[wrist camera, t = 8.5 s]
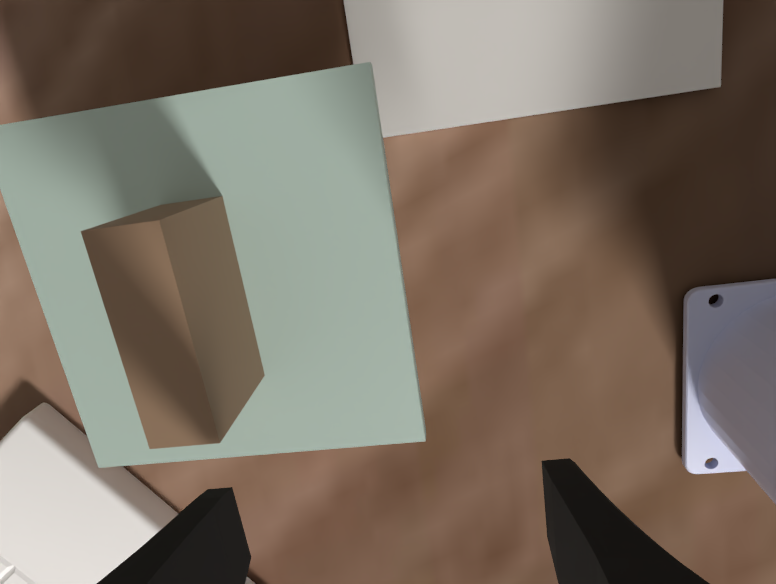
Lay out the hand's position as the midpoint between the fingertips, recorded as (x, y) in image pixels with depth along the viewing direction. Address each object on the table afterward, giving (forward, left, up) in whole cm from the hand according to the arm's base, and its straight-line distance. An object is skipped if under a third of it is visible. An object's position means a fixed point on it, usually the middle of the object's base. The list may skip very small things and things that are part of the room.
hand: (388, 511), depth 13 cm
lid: (+6, -4, -6) cm, 9 cm away
